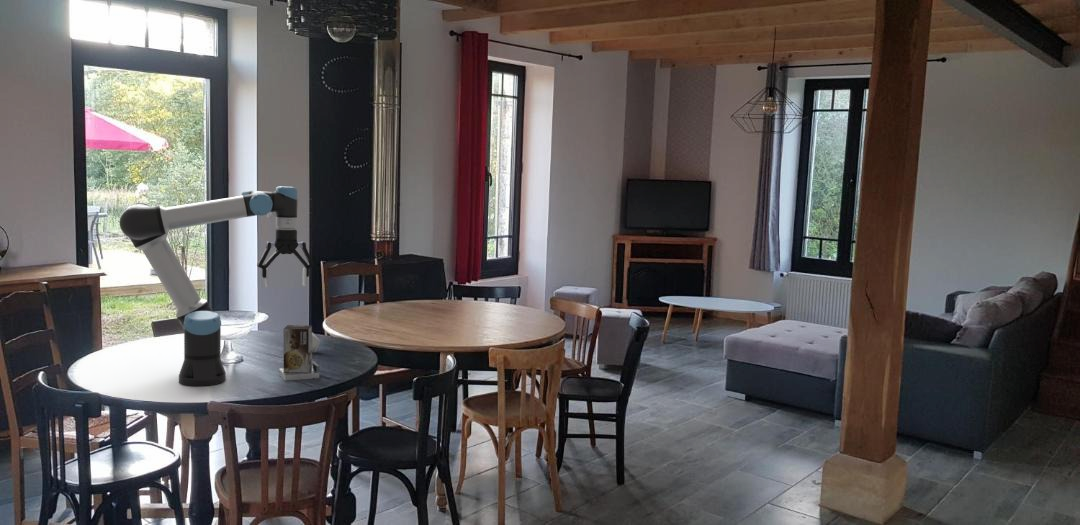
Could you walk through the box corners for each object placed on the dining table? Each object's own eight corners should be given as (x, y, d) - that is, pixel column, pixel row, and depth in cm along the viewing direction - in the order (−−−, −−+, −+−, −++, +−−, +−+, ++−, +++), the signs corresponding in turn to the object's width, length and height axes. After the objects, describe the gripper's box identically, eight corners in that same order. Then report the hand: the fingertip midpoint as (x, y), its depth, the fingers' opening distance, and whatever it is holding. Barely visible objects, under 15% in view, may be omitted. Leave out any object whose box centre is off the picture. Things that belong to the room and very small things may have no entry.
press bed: (284, 380, 296) (285, 368, 296) (278, 374, 305) (279, 362, 304) (319, 378, 302) (319, 366, 301) (312, 371, 311) (312, 359, 310)
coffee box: (312, 368, 307) (313, 325, 305) (308, 373, 300) (309, 328, 298) (286, 368, 306) (287, 324, 304) (282, 372, 300) (283, 327, 298)
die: (314, 350, 347) (299, 332, 345) (327, 343, 342) (313, 324, 340) (303, 361, 340) (288, 342, 338) (317, 354, 335) (302, 335, 333)
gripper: (252, 229, 299) (252, 288, 302) (323, 229, 311) (322, 286, 314) (249, 227, 306) (248, 285, 308) (317, 228, 318) (317, 283, 320)
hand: (285, 286), depth 311 cm, fingers open, 13 cm apart
